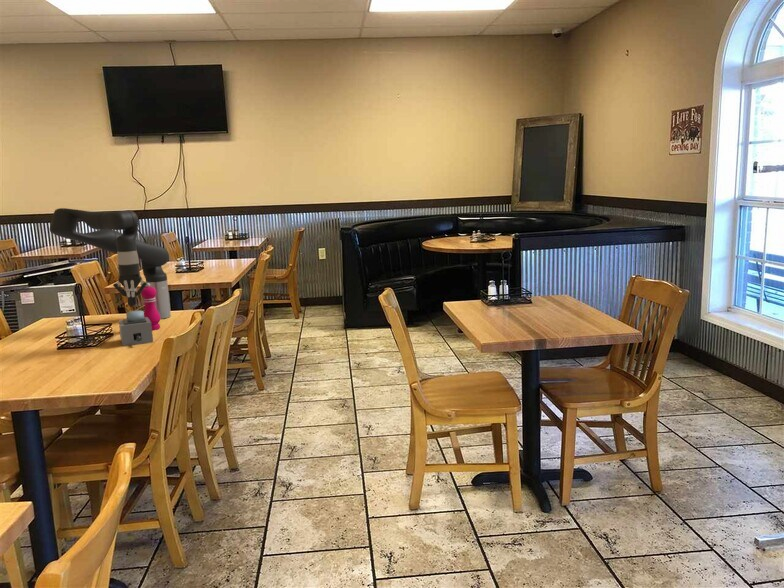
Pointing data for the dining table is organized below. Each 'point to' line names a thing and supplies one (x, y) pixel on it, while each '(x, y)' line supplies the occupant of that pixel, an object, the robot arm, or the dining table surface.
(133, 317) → the peg
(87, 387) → the dining table surface
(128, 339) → the grey block
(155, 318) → the pepper mill
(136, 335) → the plunger
